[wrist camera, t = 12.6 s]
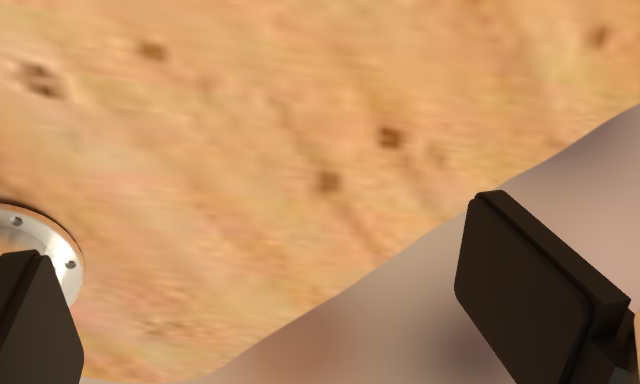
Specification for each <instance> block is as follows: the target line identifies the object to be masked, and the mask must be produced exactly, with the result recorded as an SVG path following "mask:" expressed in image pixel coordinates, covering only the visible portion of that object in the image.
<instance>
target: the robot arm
mask: <svg viewBox="0 0 640 384" xmlns="http://www.w3.org/2000/svg"><path fill="white" fill-rule="evenodd" d="M83 279H84V262H83V258H82V254H81V252H80V250H79V248H78V246H77V244H76V243H75V242H74V240H73V239H72V238H71V237H70V235H69V234H68V233H67V232H66V231H65V230H63V229H62V228H61V227H60V226H59V225H57V224H56V223H55V222H53V221H51V220H50V219H48V218H46V217H45V216H43V215H41V214H38V213H36V212H33V211H31V210H28V209H25V208H21V207H17V206H13V205H9V204H0V384H79V381H80V377H81V373H82V369H83V364H84V352H83V347H82V344H81V341H80V338H79V336H78V333H77V330H76V327H75V325H74V322H73V319H72V316H71V313H70V311H69V307H70V306H71V305H72V304H73V302H74V301H75V300H76V298H77V296H78V294H79V292H80V289H81V287H82V283H83ZM454 291H455V295H456V298H457V300H458V301H459V303H460V304H461V305H462V307H463V308H464V310H465V311H466V313H467V314H468V315H469V317H470V318H471V320H472V321H473V323H474V324H475V325H476V326H477V328H478V330H479V331H480V332H481V334H482V335H483V337H484V338H485V339H486V341H487V342H488V344H489V345H490V347H491V348H492V349H493V351H494V352H495V354H496V355H497V357H498V358H499V359H500V361H501V362H502V363H503V365H504V366H505V368H506V369H507V371H508V372H509V374H510V375H511V376H512V378H513V379H514V380H515V382H516V383H517V384H640V310H639V311H638V312H637V313H636V314H634V313H633V312H632V311H631V310H629V309H628V306H629V304H630V302H631V299H630V298H629V297H628V296H627V295H626V294H625V293H623V292H622V291H621V290H620V289H618V288H617V287H616V286H615V285H614V284H613V283H612V282H610V281H609V280H608V279H607V278H606V277H605V276H603V275H602V274H601V273H600V272H599V271H597V270H596V269H595V268H594V267H593V266H591V265H590V264H589V263H588V262H587V261H586V260H585V259H583V258H582V257H581V256H580V255H579V254H578V253H576V252H575V251H574V250H573V249H572V248H571V247H569V246H568V245H567V244H566V243H565V242H563V241H562V240H561V239H560V238H559V237H558V236H556V235H555V234H554V233H553V232H552V231H551V230H549V229H548V228H547V227H546V226H545V225H544V224H542V223H541V222H540V221H539V220H538V219H536V218H535V217H534V216H533V215H532V214H531V213H530V212H528V211H527V210H526V209H525V208H524V207H522V206H521V205H520V204H519V203H518V202H517V201H515V200H514V199H513V198H512V197H511V196H510V195H508V194H507V193H506V192H505V191H503V190H494V191H486V192H479V193H477V194H476V196H475V197H474V199H472V200H470V202H469V204H468V209H467V215H466V220H465V226H464V232H463V237H462V243H461V249H460V254H459V260H458V266H457V272H456V277H455V283H454Z"/></svg>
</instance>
